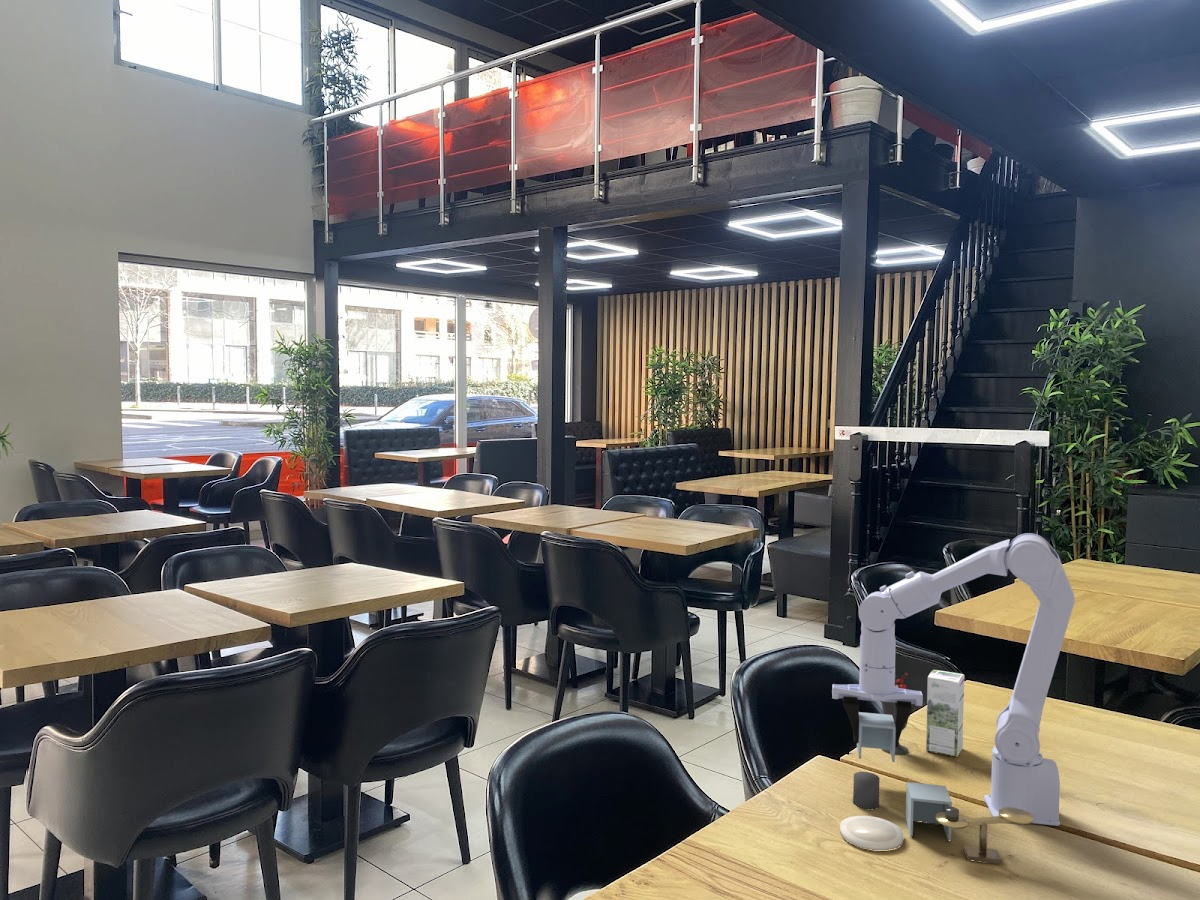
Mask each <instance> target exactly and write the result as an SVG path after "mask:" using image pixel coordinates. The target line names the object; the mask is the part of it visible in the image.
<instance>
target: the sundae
mask: <svg viewBox="0 0 1200 900" xmlns="http://www.w3.org/2000/svg"><path fill="white" fill-rule="evenodd" d="M908 676H909V674H908V673H907V672H904V674H903V675H902V676H901V678H898V679H896V680H895V687H896V688H902V689H907V685H906V684H904V679H905V678H907V677H908ZM881 707H882V714H886V715H892V716H893V720H894V702H882V701H881ZM908 721H909V718H908V719H907V721H906V723H905V725H904V727H903V729H902V731H904V730H905V728H907V724H908ZM881 750H882V751H884V752H885V753H887V752H888V754H890V750H887V749H881ZM908 751H909V748H908V747H906V746H904V745H902V744H900V742H899V743H898V747H895V755H896V754H903V755H906V753H907V754H909V752H910V751H909V752H908Z"/></svg>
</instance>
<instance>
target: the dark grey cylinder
mask: <svg viewBox="0 0 1200 900" xmlns="http://www.w3.org/2000/svg"><path fill="white" fill-rule="evenodd" d="M880 780H881V779H880V776H879V775H877V774H875V773H872V772H868V771H858V772H855V773H854V774H853V787H852V788H853V792H852V793H853V794H852V795H853V796H852V798H853V799H852V804H853V805H854V806H855V805H856V806H857V808H858V807H859V808H858V809H861V808H863V809H862V810H865V809H870V810H869V811H872V810H871V809H874V810H877V809H878V808H879V807H880ZM856 806H855V807H856ZM876 808H877V809H876Z"/></svg>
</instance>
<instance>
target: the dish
mask: <svg viewBox="0 0 1200 900" xmlns="http://www.w3.org/2000/svg"><path fill="white" fill-rule="evenodd" d="M839 834H841V835H840V837H841V836H842V837H843V838H842V837H841V838H842V839H843V840H844V839H845V840H846V841H847V843H848V842H849V843H851V844H853V845H856V846H858V847H861V848H866V849H872V850H889V849H894V848H898V847H899V846H901V845H902V846H903V844H904V833H903V830H902V829H901V827H899V825H897V824H895V823H893V822H892V821H890V820H887V819H884V818H882V817H876V816H869V815H854V816H849V817H846V818H845V819H843V820H842V821H841V822H840V823H839ZM845 840H844V841H845ZM846 841H845V842H846ZM849 843H848V844H849ZM902 843H903V844H902ZM851 844H850V845H851ZM853 845H852V846H853ZM902 846H901V847H902ZM858 847H857V848H858ZM861 848H860V849H861ZM898 849H899V848H898Z"/></svg>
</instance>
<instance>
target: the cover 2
mask: <svg viewBox="0 0 1200 900" xmlns="http://www.w3.org/2000/svg"><path fill="white" fill-rule="evenodd" d="M946 807H953V801H952V799H951V796H950V793H949V791H948V788H947V786H946V785H940V784H931V783H923V782H922V783H920V782H911V781H910V782H909V781H906V796H905V821H906V822H907V823H906V822H905V823H906V826H908V827H907V830H908V829H909V830H908V834H909V833H910V834H909V837H910V838H912V836H913V834H914V822H913V821H922V822H927V823H926V824H930V823H936V824H935V825H939V824H940V823H938V822H937V821H936V814H937V813H940V812H945V809H946ZM942 826H944V825H942ZM944 829H945V830H944ZM943 830H944V833H945V832H946V833H945V836H946V835H947V836H946V838H947V837H948V839H947V841H948V840H950V841H951V842H952V828H950V827H947V826H944V827H943ZM913 837H914V836H913Z"/></svg>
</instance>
